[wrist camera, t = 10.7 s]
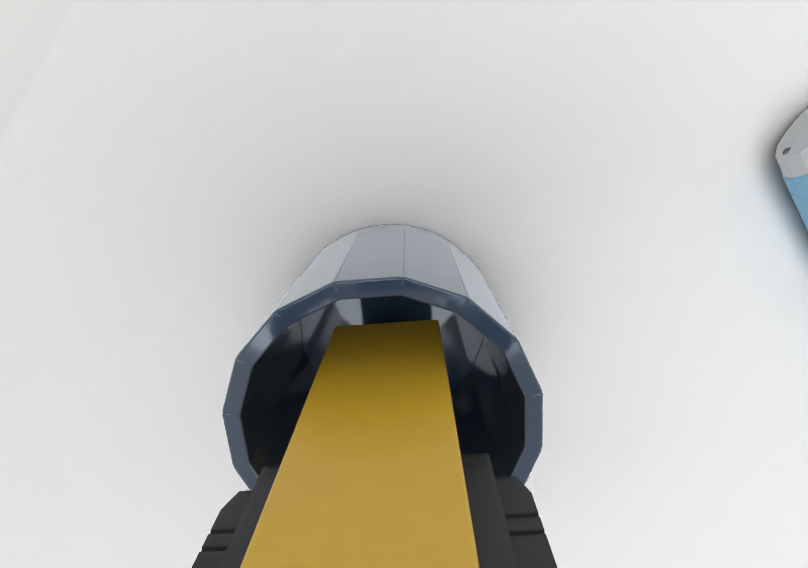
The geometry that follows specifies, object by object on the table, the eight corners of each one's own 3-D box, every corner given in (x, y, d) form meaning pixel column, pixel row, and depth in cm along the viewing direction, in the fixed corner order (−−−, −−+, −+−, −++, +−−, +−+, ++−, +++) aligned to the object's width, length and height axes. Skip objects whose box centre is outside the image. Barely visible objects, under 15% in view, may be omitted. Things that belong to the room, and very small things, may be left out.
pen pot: (306, 416, 22) (252, 564, 14) (278, 231, 20) (195, 291, 12) (494, 405, 22) (542, 549, 14) (490, 216, 19) (544, 267, 12)
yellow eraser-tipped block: (345, 416, 17) (245, 859, 7) (334, 325, 16) (194, 675, 6) (444, 410, 17) (500, 850, 6) (438, 318, 16) (495, 661, 5)
